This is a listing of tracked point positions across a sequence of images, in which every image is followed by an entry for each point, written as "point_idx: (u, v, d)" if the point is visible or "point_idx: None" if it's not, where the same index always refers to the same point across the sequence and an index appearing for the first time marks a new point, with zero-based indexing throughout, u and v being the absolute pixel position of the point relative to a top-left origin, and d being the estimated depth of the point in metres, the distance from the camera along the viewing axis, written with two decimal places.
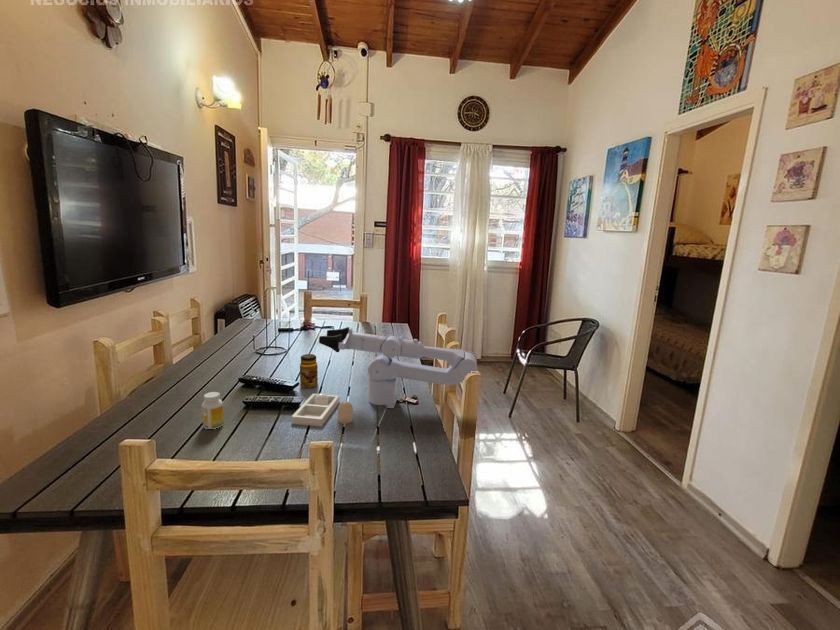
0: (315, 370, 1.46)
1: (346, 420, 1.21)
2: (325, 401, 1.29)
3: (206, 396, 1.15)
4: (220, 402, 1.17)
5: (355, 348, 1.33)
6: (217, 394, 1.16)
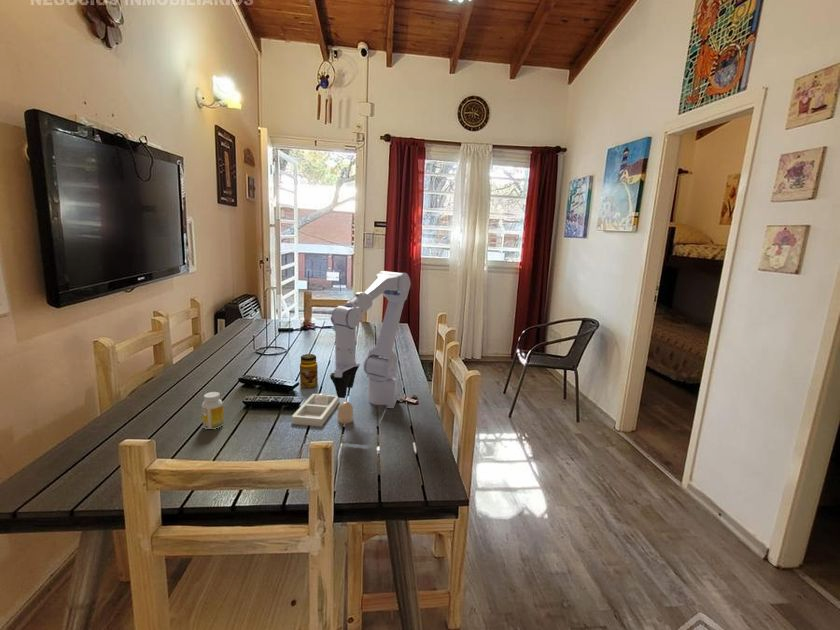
0: (315, 370, 1.46)
1: (346, 420, 1.21)
2: (325, 401, 1.29)
3: (206, 396, 1.15)
4: (220, 402, 1.17)
5: None
6: (217, 394, 1.16)
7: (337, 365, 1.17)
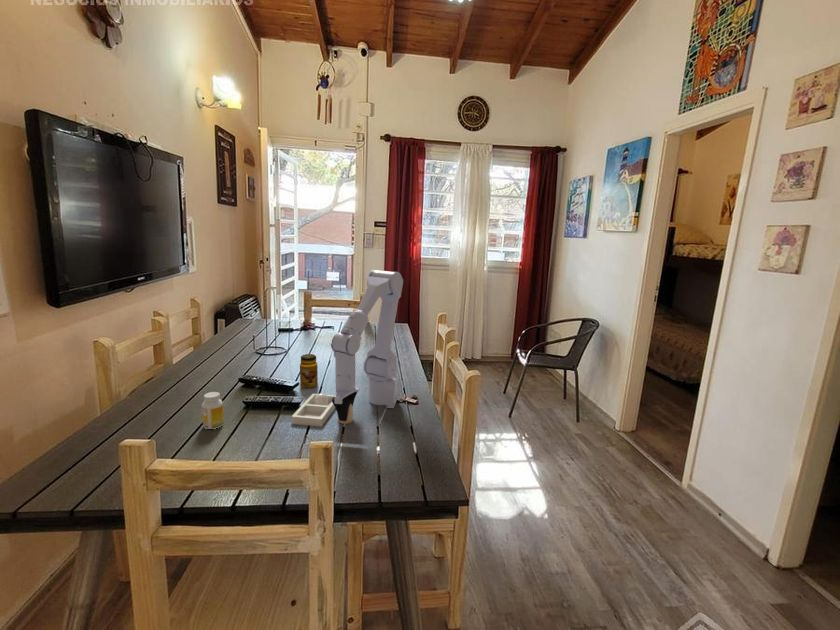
0: (315, 370, 1.46)
1: (346, 420, 1.21)
2: (325, 401, 1.29)
3: (206, 396, 1.15)
4: (220, 402, 1.17)
5: None
6: (217, 394, 1.16)
7: (337, 391, 1.19)
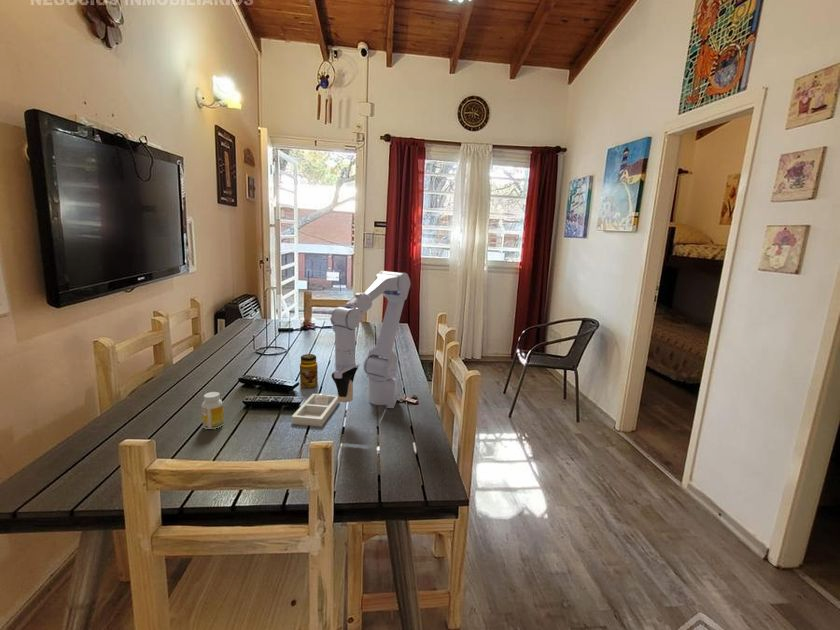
0: (315, 370, 1.46)
1: (346, 396, 1.19)
2: (325, 401, 1.29)
3: (206, 396, 1.15)
4: (220, 402, 1.17)
5: None
6: (217, 394, 1.16)
7: (337, 366, 1.17)
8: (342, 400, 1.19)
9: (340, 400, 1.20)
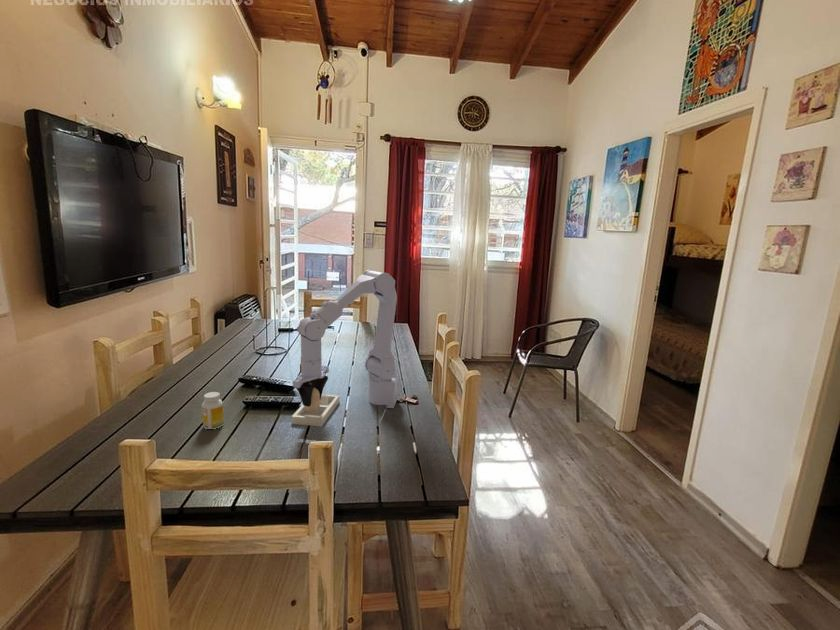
0: None
1: (310, 406, 1.20)
2: (325, 401, 1.29)
3: (206, 396, 1.15)
4: (220, 402, 1.17)
5: None
6: (217, 394, 1.16)
7: (301, 375, 1.19)
8: (307, 409, 1.21)
9: (305, 409, 1.21)
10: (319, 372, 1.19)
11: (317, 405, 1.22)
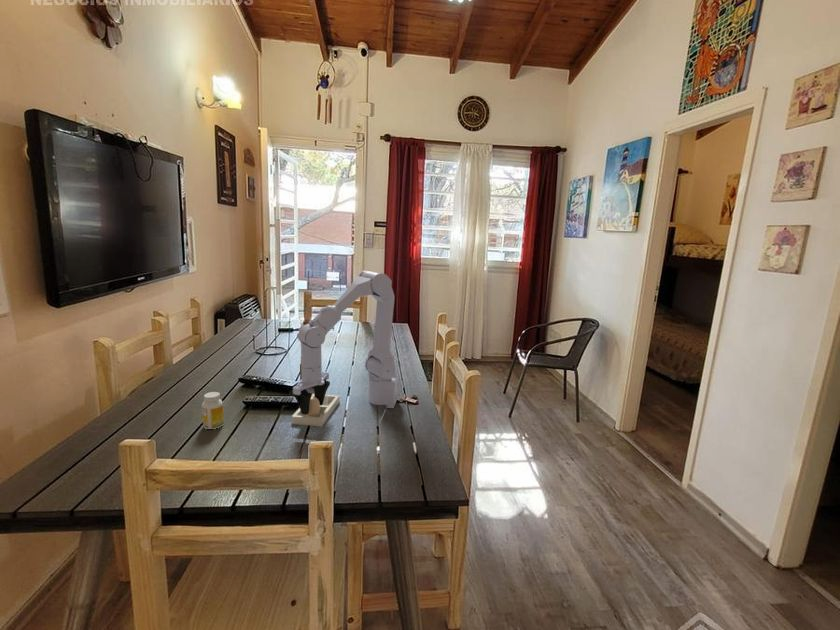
0: None
1: (311, 415, 1.21)
2: (325, 401, 1.29)
3: (206, 396, 1.15)
4: (220, 402, 1.17)
5: None
6: (217, 394, 1.16)
7: (301, 382, 1.19)
8: None
9: None
10: (319, 379, 1.20)
11: (317, 414, 1.22)
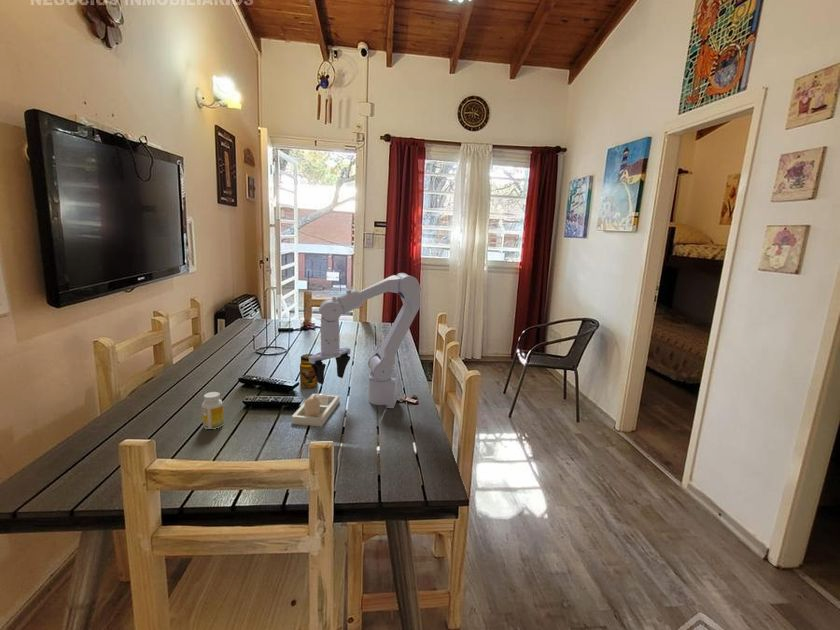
0: None
1: (311, 415, 1.21)
2: (325, 401, 1.29)
3: (206, 396, 1.15)
4: (220, 402, 1.17)
5: None
6: (217, 394, 1.16)
7: (320, 353, 1.28)
8: None
9: None
10: (335, 352, 1.27)
11: (317, 414, 1.22)
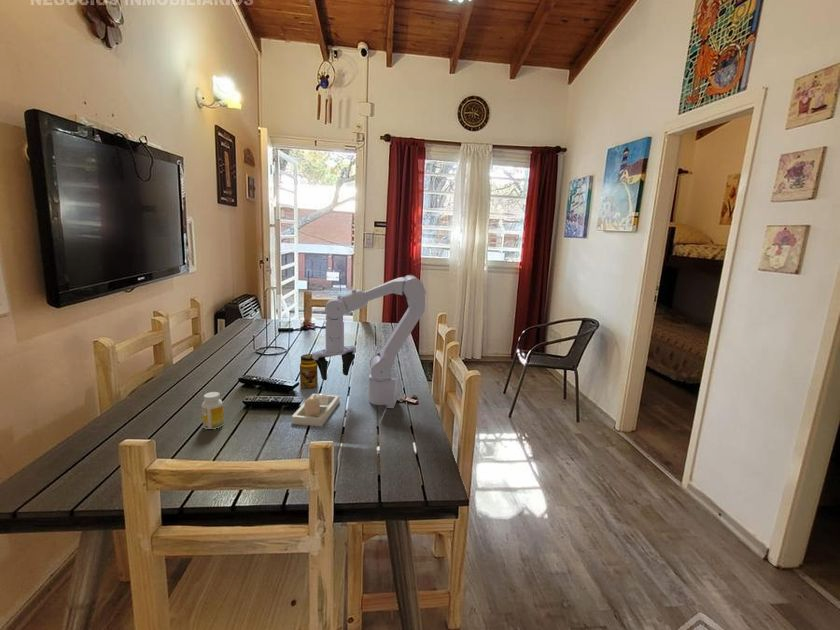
0: (315, 370, 1.46)
1: (310, 415, 1.21)
2: (325, 401, 1.29)
3: (206, 396, 1.15)
4: (220, 402, 1.17)
5: None
6: (217, 394, 1.16)
7: (325, 350, 1.31)
8: None
9: None
10: (338, 349, 1.29)
11: (317, 414, 1.22)
